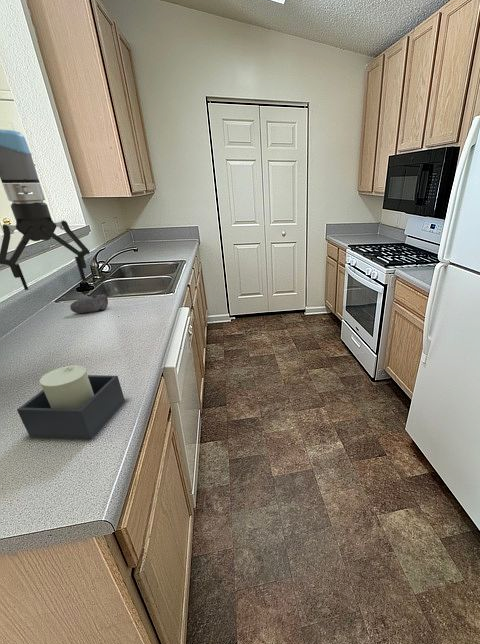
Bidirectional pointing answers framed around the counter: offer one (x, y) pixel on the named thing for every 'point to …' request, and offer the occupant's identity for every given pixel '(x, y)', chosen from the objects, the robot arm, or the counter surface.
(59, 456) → the counter surface
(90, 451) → the counter surface
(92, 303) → the perforated stone tool
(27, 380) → the counter surface
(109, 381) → the open box
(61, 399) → the can
